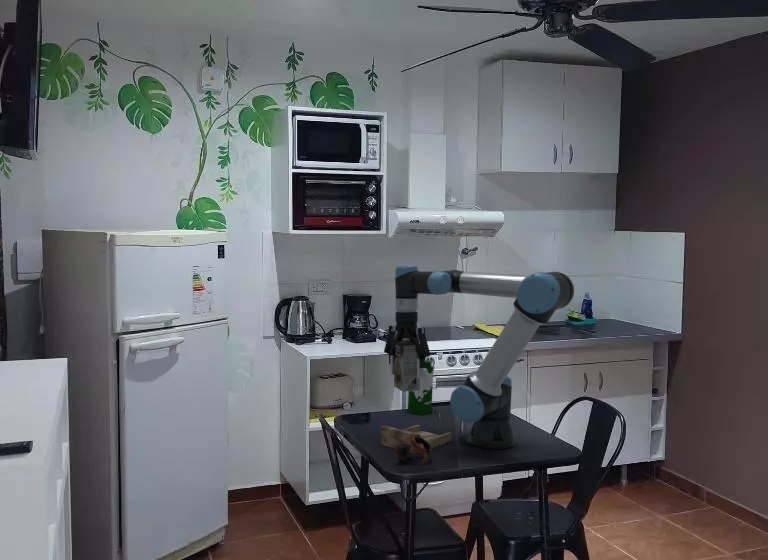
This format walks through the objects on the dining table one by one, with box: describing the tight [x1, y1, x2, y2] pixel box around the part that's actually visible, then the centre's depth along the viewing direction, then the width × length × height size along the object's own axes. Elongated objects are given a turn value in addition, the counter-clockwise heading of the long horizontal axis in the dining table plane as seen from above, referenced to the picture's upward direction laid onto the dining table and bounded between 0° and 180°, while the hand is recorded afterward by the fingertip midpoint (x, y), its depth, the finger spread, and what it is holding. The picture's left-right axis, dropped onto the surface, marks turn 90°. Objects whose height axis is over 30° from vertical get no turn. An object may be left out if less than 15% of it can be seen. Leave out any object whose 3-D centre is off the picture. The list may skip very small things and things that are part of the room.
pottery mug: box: [395, 436, 433, 464], centre depth 217 cm, size 12×10×8 cm
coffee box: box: [393, 339, 420, 392], centre depth 242 cm, size 9×6×16 cm
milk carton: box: [407, 360, 436, 416], centre depth 277 cm, size 9×9×20 cm
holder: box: [379, 424, 453, 455], centre depth 236 cm, size 15×20×6 cm
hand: (406, 375), depth 242 cm, fingers closed on coffee box, 11 cm apart
